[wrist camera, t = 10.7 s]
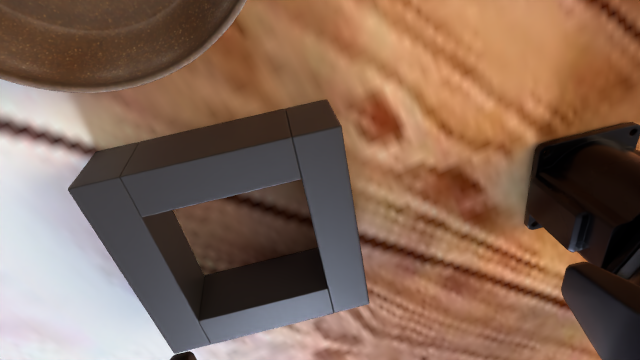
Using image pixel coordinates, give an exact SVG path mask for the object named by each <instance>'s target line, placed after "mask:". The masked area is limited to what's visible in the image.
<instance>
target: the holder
mask: <svg viewBox="0 0 640 360" xmlns="http://www.w3.org/2000/svg"><path fill="white" fill-rule="evenodd" d="M301 178H302V182H303V186H304V190H305V194H306V198H307V203H308V207H309V211H310V215H311V219H312V224H313V228H314V232H315V236H316V240H317V244H318V248H315V249H311V250H307V251H303V252H299V253H295V254H291V255H287V256H283V257H279V258H275V259H271V260H267V261H263V262H259V263H255V264H251V265H246V266H242V267H238V268H234V269H230V270H226V271H222V272H218V273H214V274H210V275H206V276H204V274H203V272H202V270H201V268H200V266H199V264H198V262H197V260H196V258H195V256H194V254H193V252H192V250H191V248H190V245H189V243H188V241H187V239H186V237H185V235H184V233H183V231H182V229H181V227H180V225H179V223H178V221H177V219H176V217H175V215H174V213H173V210H174V209H178V208H182V207H187V206H191V205H195V204H199V203H203V202H208V201H212V200H216V199H220V198H225V197H229V196H233V195H237V194H241V193H246V192H250V191H254V190H258V189H262V188H267V187H271V186H275V185H279V184H283V183H288V182H292V181H296V180H300V179H301ZM68 191H69V192H70V194H71V195H72V197H73V198H74V200H75V201H76V203H77V205H78V206H79V208H80V209H81V211H82V212H83V214H84V215H85V217H86V218H87V220H88V221H89V223H90V225H91V226H92V228H93V229H94V231H95V232H96V234H97V235H98V237H99V238H100V240H101V241H102V243H103V245H104V246H105V248H106V249H107V251H108V252H109V254H110V255H111V257H112V258H113V260H114V261H115V263H116V265H117V266H118V268H119V269H120V271H121V272H122V274H123V275H124V277H125V278H126V280H127V281H128V283H129V285H130V286H131V288H132V289H133V291H134V292H135V294H136V295H137V297H138V298H139V300H140V301H141V303H142V305H143V306H144V308H145V309H146V311H147V312H148V314H149V315H150V317H151V318H152V320H153V321H154V323H155V325H156V326H157V328H158V329H159V331H160V332H161V334H162V335H163V337H164V338H165V340H166V341H167V343H168V345H169V346H170V348H171V349H172V351H173V352H174V353H179V352H183V351H187V350H191V349H195V348H199V347H203V346H207V345H210V344H215V343H219V342H223V341H227V340H231V339H235V338H238V337H242V336H246V335H250V334H254V333H258V332H262V331H266V330H270V329H274V328H278V327H282V326H286V325H290V324H293V323H297V322H301V321H305V320H309V319H313V318H317V317H321V316H325V315H329V314H333V313H334V312H339V311H343V310H347V309H351V308H355V307H359V306H363V305H367V304H369V298H368V291H367V285H366V278H365V272H364V266H363V259H362V253H361V247H360V240H359V234H358V228H357V221H356V215H355V209H354V202H353V196H352V190H351V183H350V177H349V171H348V164H347V158H346V152H345V145H344V139H343V133H342V126H341V125H340V123H339V121H338V119H337V117H336V115H335V113H334V111H333V110H332V108H331V106H330V104H329V102H328V100H322V101H318V102H313V103H309V104H305V105H300V106H296V107H292V108H287V109H286V110H285V109H282V110H277V111H273V112H269V113H264V114H260V115H256V116H251V117H247V118H242V119H238V120H234V121H229V122H225V123H221V124H216V125H212V126H207V127H203V128H199V129H194V130H190V131H186V132H181V133H177V134H172V135H168V136H164V137H159V138H155V139H151V140H146V141H142V142H140V143H139V142H138V143H133V144H129V145H125V146H120V147H116V148H111V149H107V150H103V151H98V152H96V153H95V154H94V155H93V157H92V158H91V159H90V161H89V162H88V163H87V164H86V166H85V167H84V168H83V170H82V171H81V172H80V174H79V175H78V176H77V178H76V179H75V180H74V182H73V183H72V184H71V186H70V187H69V188H68Z"/></svg>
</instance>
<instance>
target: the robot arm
mask: <svg viewBox="0 0 640 360" xmlns="http://www.w3.org/2000/svg"><path fill="white" fill-rule="evenodd" d="M639 136H640V125H638V124H636V123H633V122H629V123H625V124H621V125H616V126H612V127H608V128H604V129H600V130H596V131H591V132H587V133H583V134H579V135H575V136H571V137H567V138H562V139H558V140H554V141H550V142H546V143H543V144H540V145H539V146H538V147H537V148H536V150H535V154H534V161H533V167H532V174H531V181H530V187H529V193H528V200H527V207H526V214H525V221H524V224H525V225H526V226H527V227H528V228H529V229H531V230H534V229H538V228H542V227H544V228H545V229H546V230H547V231H548V232H549V233H550V234H551V235H552V236H553V237H554V238H555V239H556V240H557V241H559V242H560V243H561V244H562V245H563V246H564V247H565V248H566V249H567V250H569V251H570V252H576V251H577V252H578V253H579V254H580V255H581V256H582V257H583V258H585V259H586V260H587V261H588V262H579V263H575V264H571V265H569V266H568V267H567V268H566V271H565V275H564V279H563V283H562V287H561V291H562V295H563V297H564V299H565V301H566V303H567V304H568V306H569V308H570V309H571V311H572V312H573V314H574V316H575V317H576V319H577V321H578V322H579V324H580V325H581V327H582V329H583V330H584V332H585V334H586V335H587V337H588V339H589V340H590V342H591V343H592V345H593V347H594V348H595V350H596V351H597V353H598V354H599V356H600V358H601V359H602V360H640V151H638V150H636V149H635V148H636V145H637V142H638V139H639ZM545 150H546V152H545V153H544V151H545ZM170 360H197V359H196V357H195V356H194V354H193V353H192V352H190V351H189V352H184V353H180V354H176V355H174V356H173V357H172V358H171V359H170Z"/></svg>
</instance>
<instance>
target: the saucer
mask: <svg viewBox="0 0 640 360" xmlns="http://www.w3.org/2000/svg"><path fill="white" fill-rule="evenodd" d="M246 1H247V0H0V79H3V80H6V81H10V82H13V83H16V84H20V85H25V86H30V87H35V88H39V89H45V90H52V91H62V92H76V93H98V92H108V91H117V90H123V89H128V88H132V87H136V86H140V85H144V84H147V83H150V82H153V81H155V80H158V79H160V78H163V77H165V76H167V75H169V74H172V73H173V72H175V71H177V70H179V69H181V68H182V67H184V66H186V65H188V64H189V63H191V62H192V61H193V60H195V59H196V58H198V57H199V56H200V55H201V54H202V53H204V52H205V51H206V50H207V49H209V48H210V47H211V46H212V45H213V44H214V43H215V42H216V41H217V40H218V39H219V38H220V37H221V36H222V35H223V33H224V32H225V31H226V30H227V29H228V28H229V27H230V25H231V24H232V23H233V21H234V20H235V18H236V17H237V16H238V15H239V13H240V11H241V9H242V8H243V6H244V5H245V3H246Z"/></svg>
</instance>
